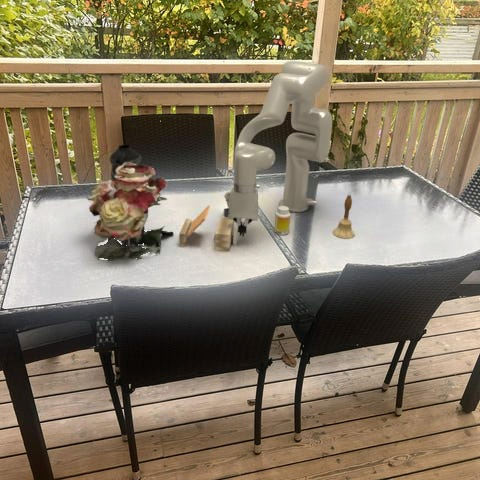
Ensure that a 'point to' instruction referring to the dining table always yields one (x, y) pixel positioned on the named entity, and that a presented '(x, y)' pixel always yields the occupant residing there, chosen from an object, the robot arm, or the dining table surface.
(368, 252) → the dining table surface
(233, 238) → the pin
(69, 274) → the dining table surface
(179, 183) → the dining table surface
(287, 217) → the supplement bottle
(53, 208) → the dining table surface
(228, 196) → the watch
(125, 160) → the beer stein
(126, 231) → the rose bouquet
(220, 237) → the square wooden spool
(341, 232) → the hand bell
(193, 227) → the flap
